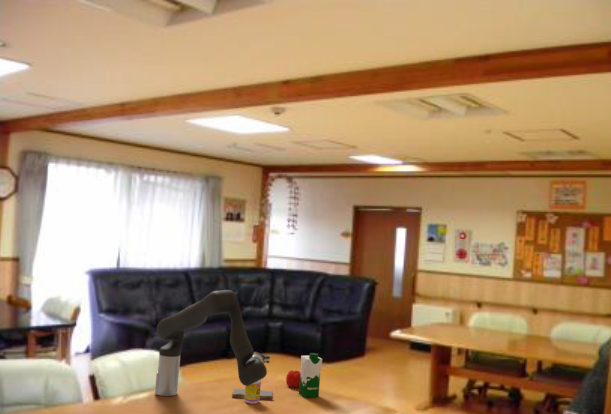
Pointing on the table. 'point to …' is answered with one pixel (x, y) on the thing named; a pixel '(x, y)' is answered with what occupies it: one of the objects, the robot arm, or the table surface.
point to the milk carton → (310, 376)
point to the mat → (260, 392)
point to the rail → (239, 395)
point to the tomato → (293, 379)
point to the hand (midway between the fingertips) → (255, 354)
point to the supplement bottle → (252, 393)
